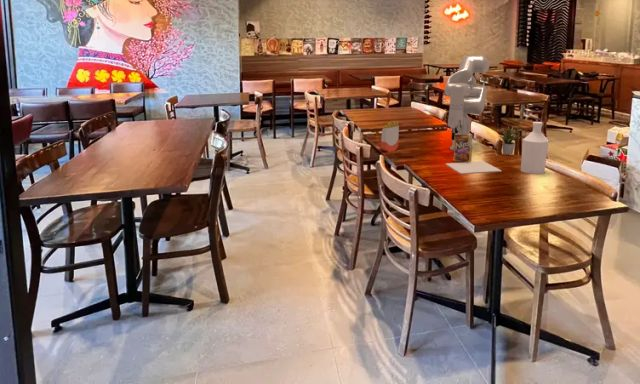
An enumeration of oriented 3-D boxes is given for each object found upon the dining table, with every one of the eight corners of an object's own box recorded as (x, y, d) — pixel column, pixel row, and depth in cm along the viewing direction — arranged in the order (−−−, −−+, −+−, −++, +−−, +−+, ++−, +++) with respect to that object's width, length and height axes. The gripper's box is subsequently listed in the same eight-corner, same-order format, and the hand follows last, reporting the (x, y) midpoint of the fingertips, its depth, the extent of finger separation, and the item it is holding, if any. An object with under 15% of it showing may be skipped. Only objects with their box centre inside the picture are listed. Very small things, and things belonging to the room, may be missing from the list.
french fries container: (380, 151, 311) (381, 122, 306) (392, 148, 318) (393, 119, 312) (386, 152, 308) (386, 123, 303) (398, 149, 315) (399, 120, 309)
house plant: (523, 157, 291) (526, 128, 286) (498, 156, 294) (500, 128, 289) (519, 151, 304) (522, 124, 299) (495, 150, 307) (497, 123, 302)
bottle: (524, 166, 271) (529, 119, 263) (548, 170, 264) (553, 121, 256) (516, 171, 262) (521, 123, 255) (540, 175, 255) (546, 125, 247)
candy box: (453, 161, 283) (454, 134, 280) (456, 160, 287) (456, 133, 283) (469, 162, 278) (470, 134, 275) (471, 161, 282) (472, 133, 278)
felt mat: (445, 164, 278) (445, 163, 278) (483, 162, 281) (483, 161, 281) (460, 174, 259) (460, 173, 259) (501, 171, 263) (501, 170, 262)
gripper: (445, 105, 292) (443, 137, 297) (455, 109, 278) (453, 142, 283) (457, 105, 293) (455, 137, 298) (468, 108, 279) (466, 141, 284)
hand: (454, 139), depth 290 cm, fingers closed
